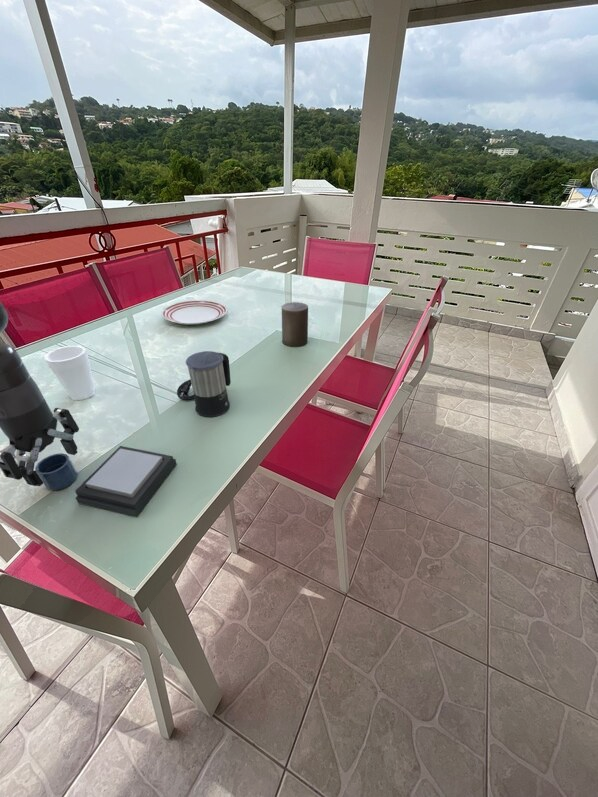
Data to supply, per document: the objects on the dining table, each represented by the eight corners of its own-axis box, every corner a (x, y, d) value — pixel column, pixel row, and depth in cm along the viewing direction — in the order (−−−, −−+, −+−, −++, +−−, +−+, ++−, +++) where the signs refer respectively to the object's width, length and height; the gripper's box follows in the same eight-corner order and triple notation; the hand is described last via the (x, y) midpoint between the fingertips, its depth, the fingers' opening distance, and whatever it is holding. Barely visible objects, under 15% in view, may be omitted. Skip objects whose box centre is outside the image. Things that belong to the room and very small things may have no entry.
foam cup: (56, 398, 92) (35, 357, 85) (85, 382, 99) (68, 343, 92) (80, 406, 89) (61, 364, 82) (108, 389, 97) (93, 349, 89)
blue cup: (62, 493, 65) (52, 476, 63) (39, 488, 67) (27, 471, 64) (84, 473, 70) (75, 456, 67) (62, 468, 71) (52, 451, 68)
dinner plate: (238, 310, 152) (237, 303, 150) (207, 333, 130) (206, 325, 128) (186, 303, 159) (185, 296, 157) (149, 324, 137) (147, 316, 135)
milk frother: (226, 418, 86) (219, 368, 78) (166, 417, 86) (152, 367, 78) (235, 388, 98) (230, 342, 89) (182, 387, 98) (172, 341, 89)
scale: (137, 517, 61) (132, 507, 60) (78, 503, 64) (72, 493, 62) (177, 464, 72) (174, 454, 71) (125, 453, 75) (121, 444, 73)
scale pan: (133, 498, 62) (131, 493, 61) (87, 488, 64) (85, 483, 63) (163, 461, 70) (161, 456, 69) (122, 452, 72) (120, 448, 71)
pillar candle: (308, 347, 121) (309, 307, 113) (282, 347, 121) (281, 307, 112) (306, 336, 129) (307, 298, 121) (281, 336, 129) (280, 298, 120)
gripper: (35, 379, 64) (68, 441, 73) (-43, 425, 52) (8, 492, 62) (68, 384, 62) (97, 447, 71) (-6, 433, 51) (41, 500, 60)
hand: (56, 468), depth 66 cm, fingers open, 8 cm apart
